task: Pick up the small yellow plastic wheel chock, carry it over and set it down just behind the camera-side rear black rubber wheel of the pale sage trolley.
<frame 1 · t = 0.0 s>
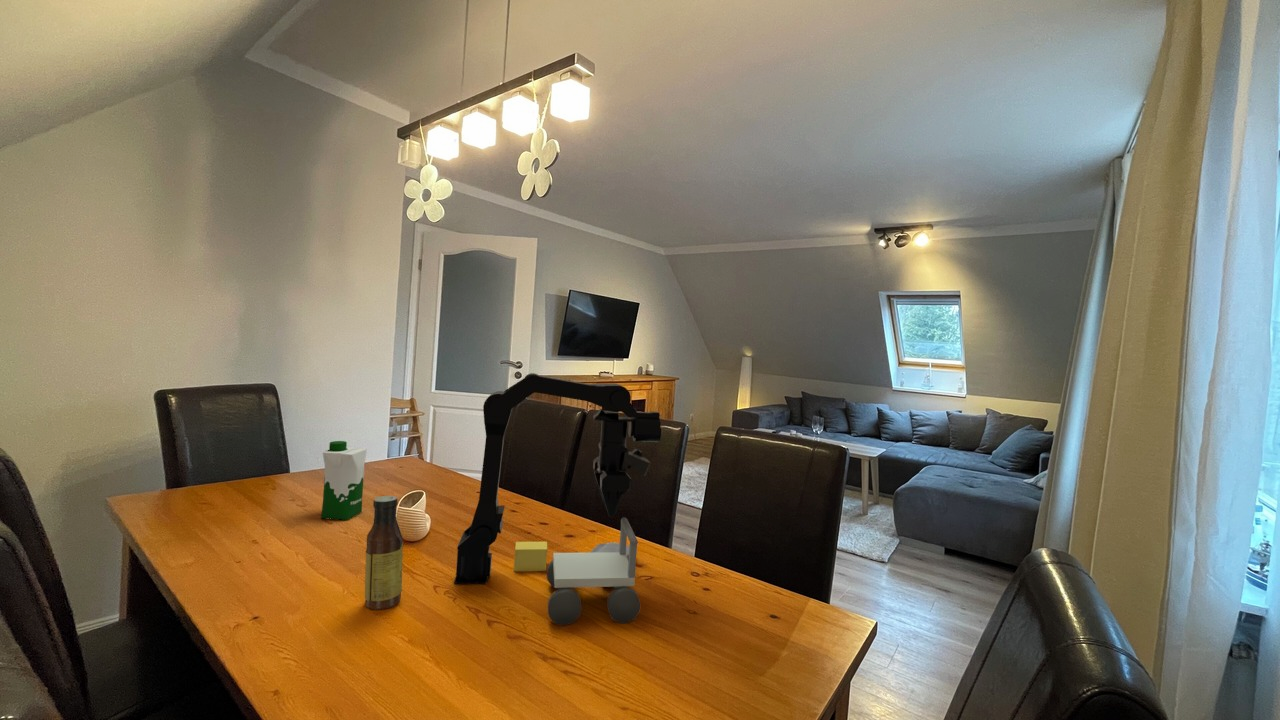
hand: (608, 510, 114), 15 cm above the table, tool pointing down, fingers open, 9 cm apart
trolley: (589, 602, 102), on the table
stone block: (608, 565, 121), on the table
milk carton: (342, 516, 140), on the table
chock: (530, 567, 116), on the table
sauce bottle: (382, 604, 96), on the table
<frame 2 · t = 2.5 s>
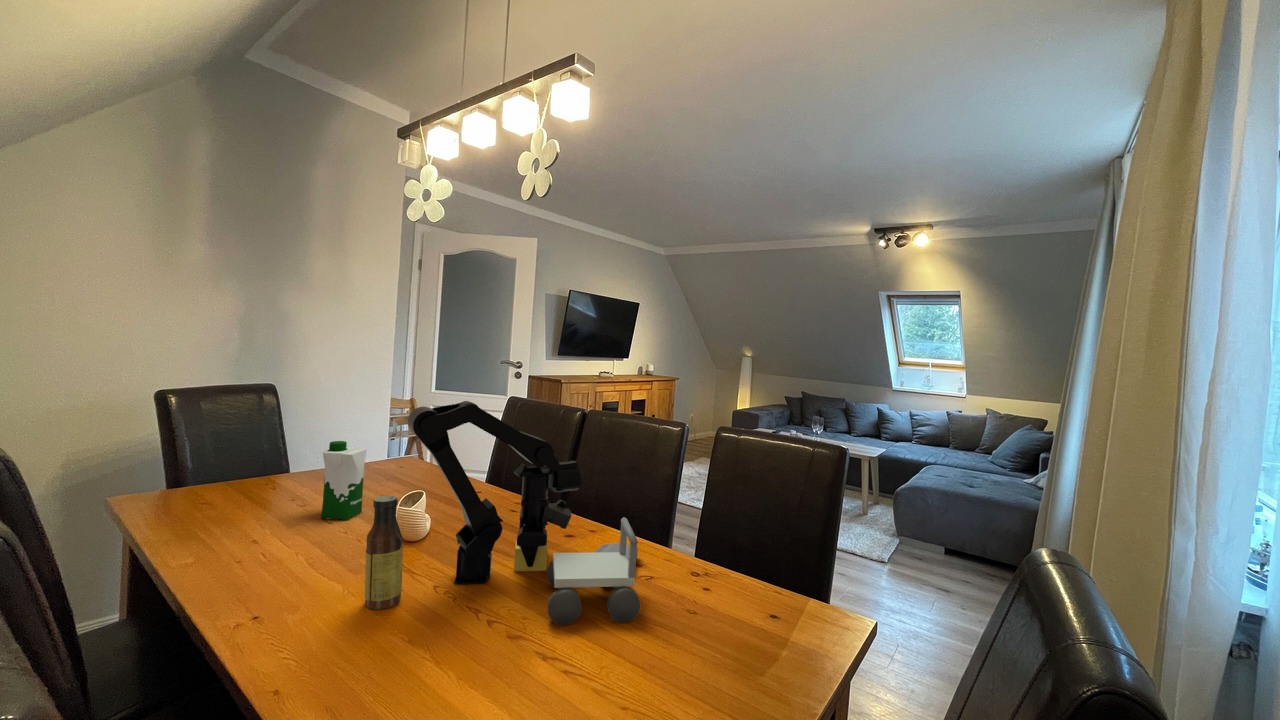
hand: (530, 562, 116), 1 cm above the table, tool pointing down, fingers closed on chock, 4 cm apart
chock: (530, 566, 116), on the table, touching gripper
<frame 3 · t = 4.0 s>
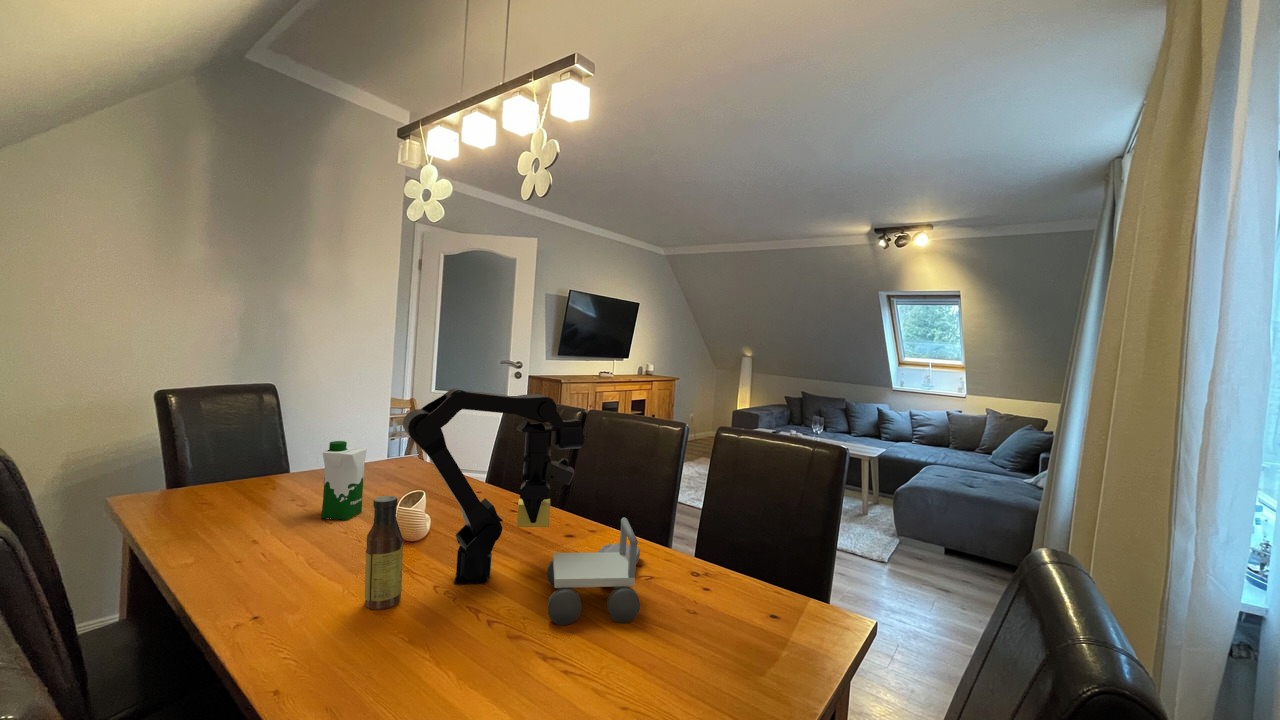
hand: (533, 519, 116), 11 cm above the table, tool pointing down, fingers closed on chock, 4 cm apart
chock: (533, 523, 116), point 10 cm above the table, touching gripper
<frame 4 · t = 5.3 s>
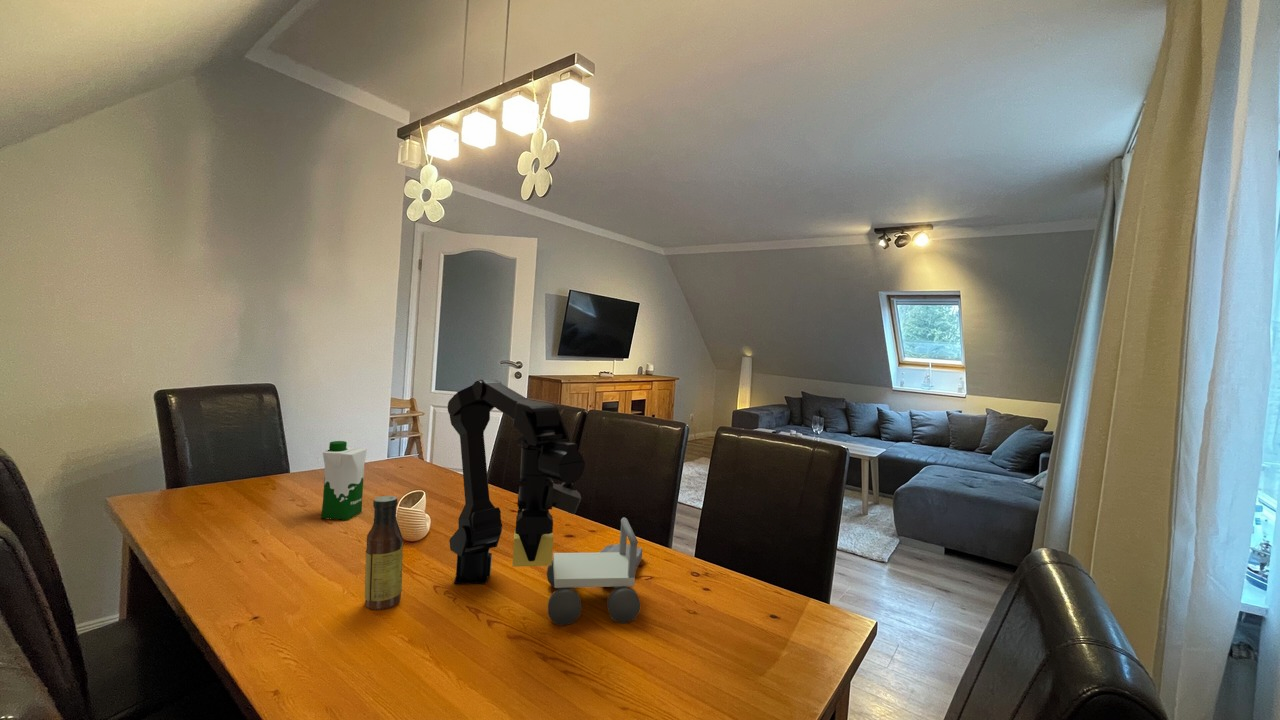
hand: (531, 555, 95), 11 cm above the table, tool pointing down, fingers closed on chock, 4 cm apart
chock: (532, 560, 95), point 10 cm above the table, touching gripper
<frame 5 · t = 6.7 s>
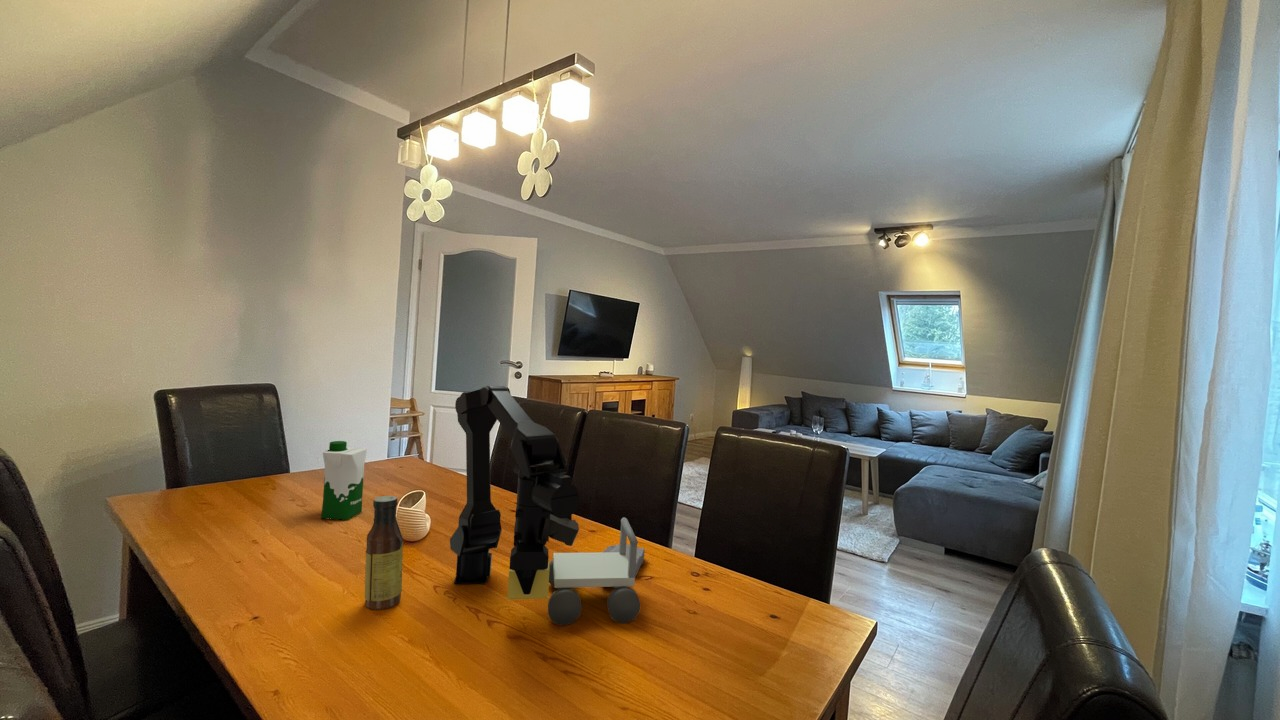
hand: (527, 587, 93), 7 cm above the table, tool pointing down, fingers closed on chock, 4 cm apart
chock: (527, 592, 93), point 6 cm above the table, touching gripper
when the fingers open (2 cm above the table, at t = 8.0 s): chock drops 2 cm, on the table.
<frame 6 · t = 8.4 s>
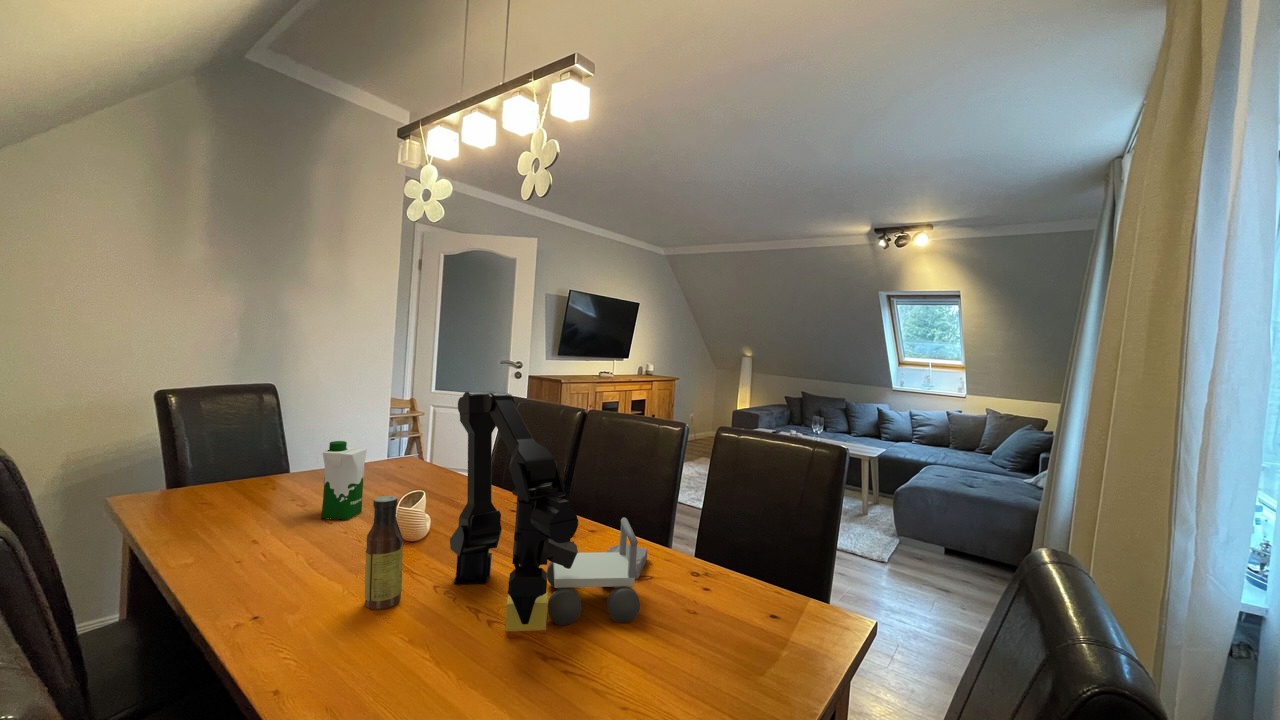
hand: (525, 610, 93), 2 cm above the table, tool pointing down, fingers open, 9 cm apart
chock: (525, 624, 93), on the table
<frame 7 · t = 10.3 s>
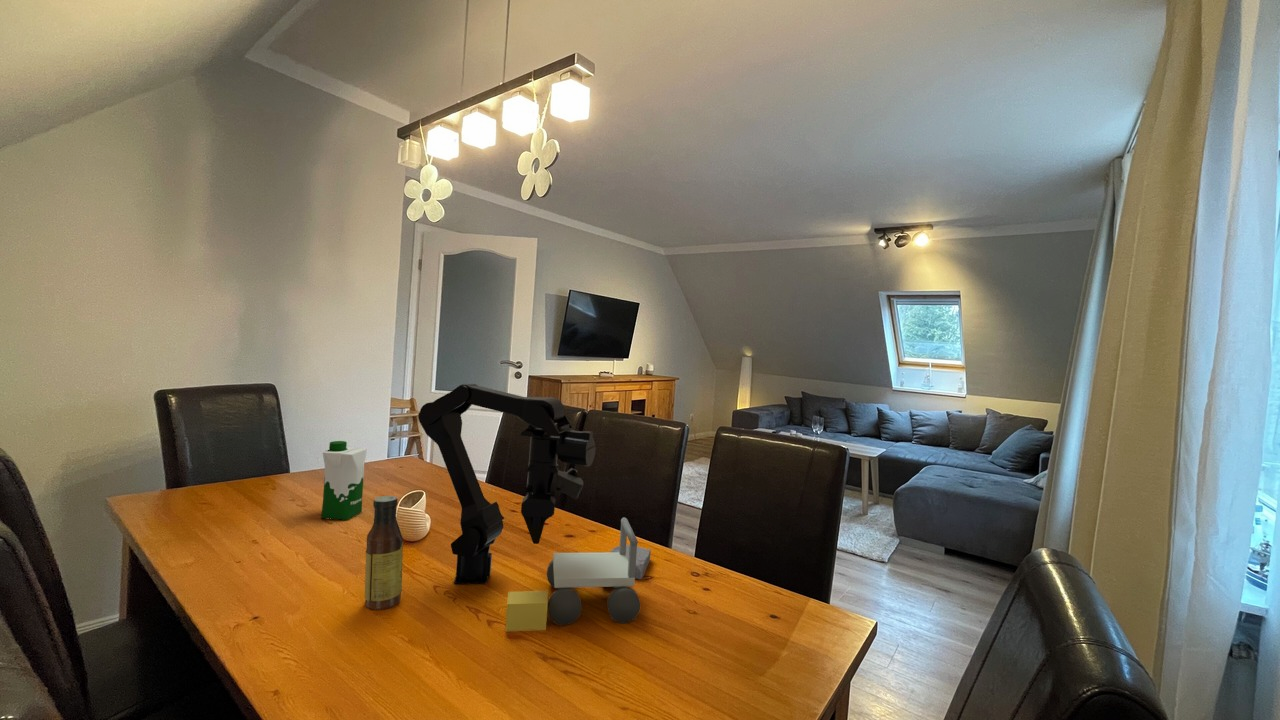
hand: (537, 534, 105), 11 cm above the table, tool pointing down, fingers open, 9 cm apart
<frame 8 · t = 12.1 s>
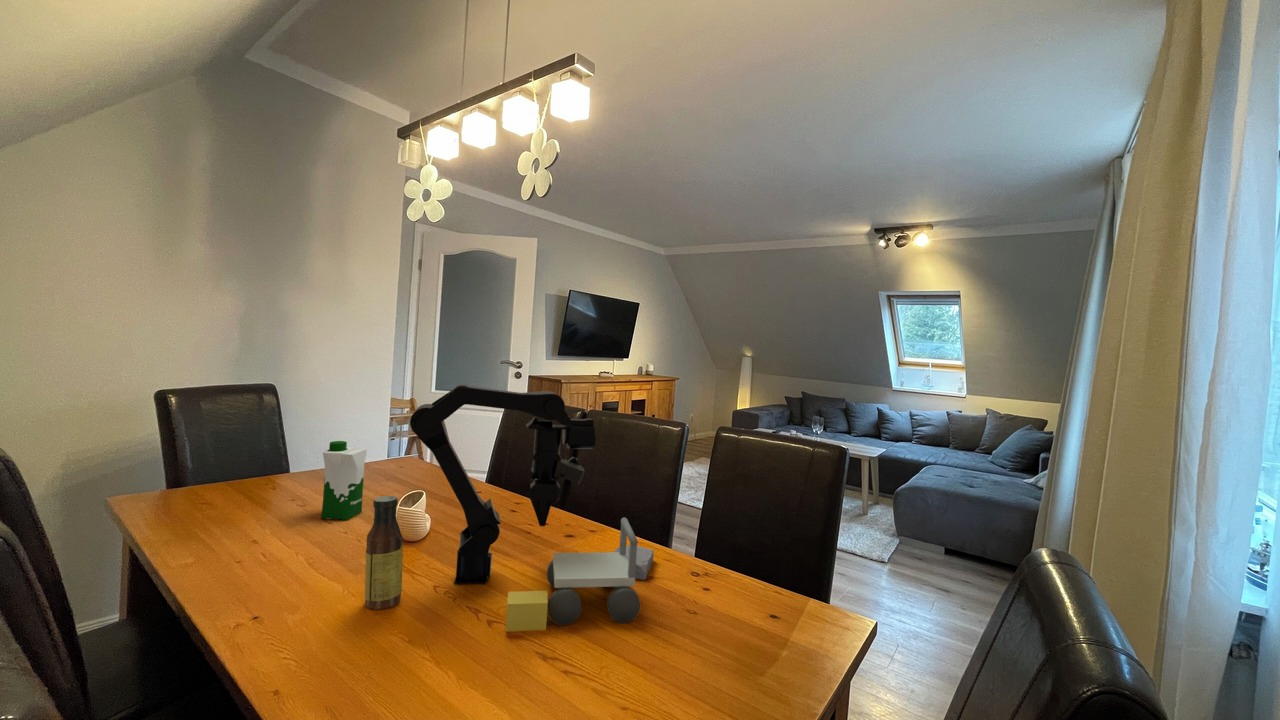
hand: (542, 518, 114), 12 cm above the table, tool pointing down, fingers open, 9 cm apart
at the end: chock 0.7 cm from the target spot on the table beside the trolley, on the table; chock tilted 0°; the gripper is holding nothing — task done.
